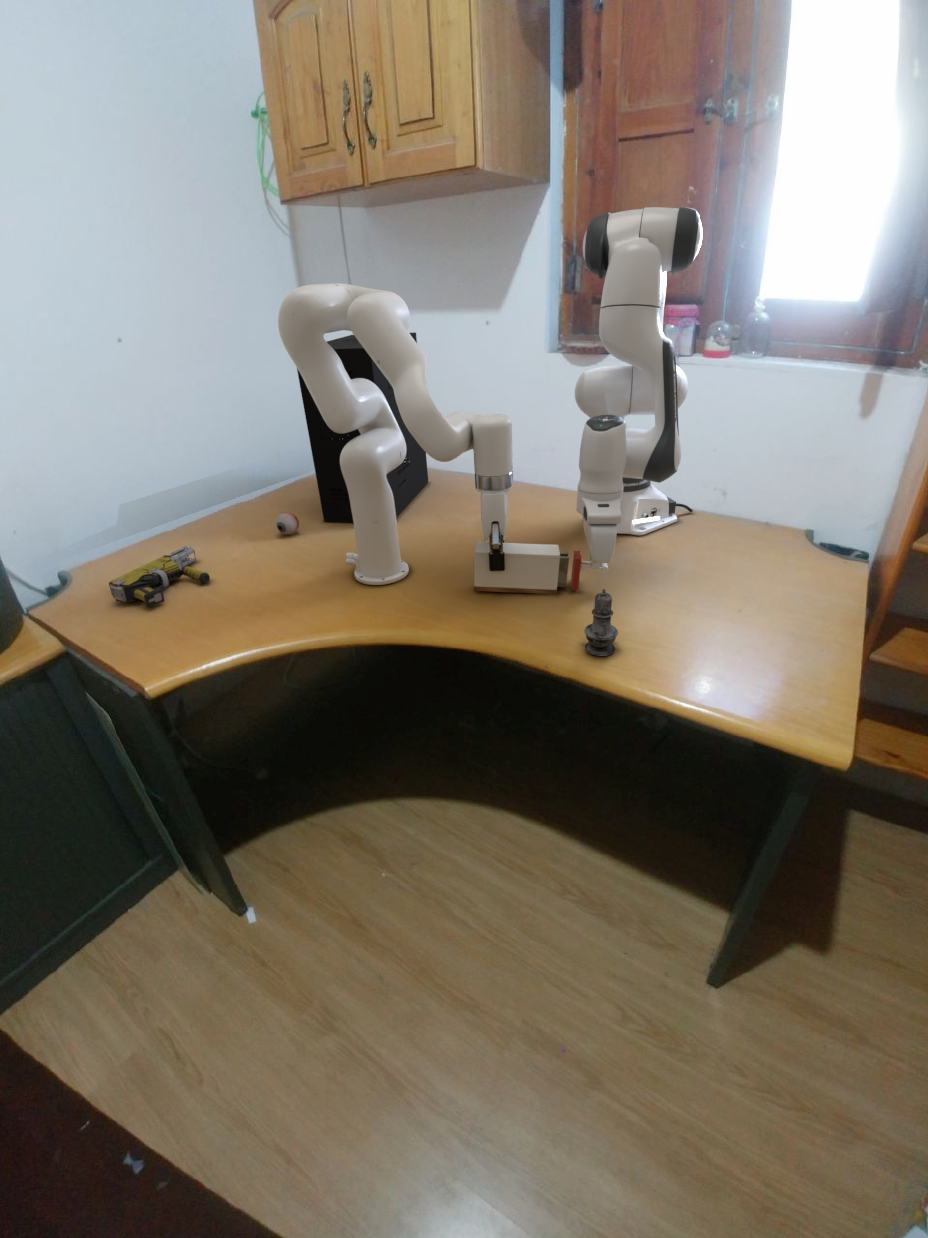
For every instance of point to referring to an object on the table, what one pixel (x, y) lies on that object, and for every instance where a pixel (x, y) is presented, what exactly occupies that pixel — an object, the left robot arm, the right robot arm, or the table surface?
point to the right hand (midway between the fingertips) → (594, 567)
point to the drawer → (574, 569)
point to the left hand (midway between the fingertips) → (497, 563)
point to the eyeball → (287, 523)
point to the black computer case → (330, 444)
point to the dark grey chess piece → (601, 627)
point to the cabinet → (518, 569)
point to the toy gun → (155, 578)
